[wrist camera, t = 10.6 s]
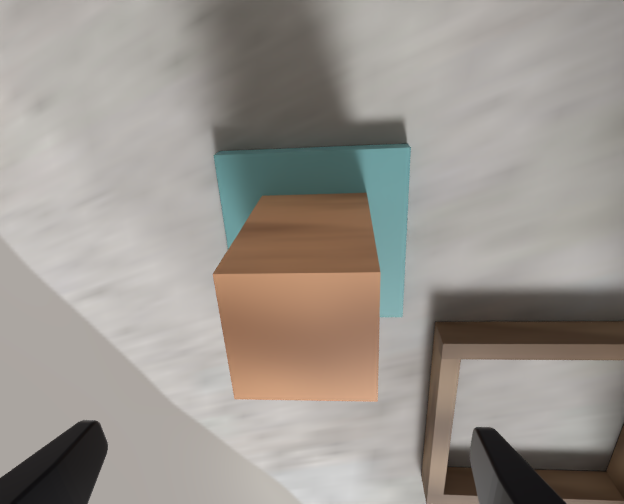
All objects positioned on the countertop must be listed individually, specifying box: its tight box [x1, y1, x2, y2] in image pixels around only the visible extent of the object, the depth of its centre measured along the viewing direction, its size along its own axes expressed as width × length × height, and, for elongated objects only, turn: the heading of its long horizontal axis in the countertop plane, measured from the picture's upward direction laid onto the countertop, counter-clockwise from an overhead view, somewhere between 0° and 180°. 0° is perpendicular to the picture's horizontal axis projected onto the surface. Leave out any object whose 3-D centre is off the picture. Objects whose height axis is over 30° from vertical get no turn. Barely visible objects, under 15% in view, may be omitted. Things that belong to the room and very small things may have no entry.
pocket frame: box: [421, 321, 624, 504], centre depth 24 cm, size 13×13×2 cm
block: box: [213, 193, 381, 402], centre depth 17 cm, size 5×5×8 cm
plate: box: [214, 143, 411, 317], centre depth 21 cm, size 9×9×1 cm
